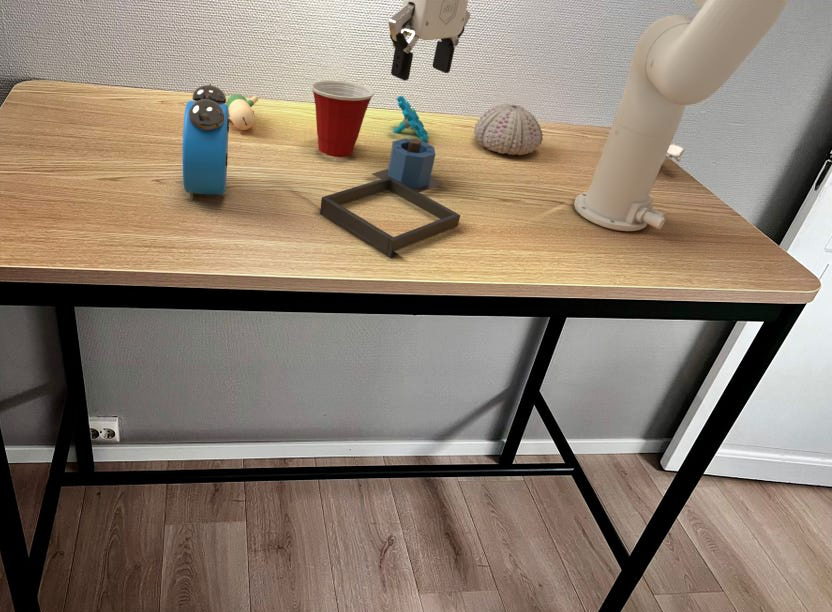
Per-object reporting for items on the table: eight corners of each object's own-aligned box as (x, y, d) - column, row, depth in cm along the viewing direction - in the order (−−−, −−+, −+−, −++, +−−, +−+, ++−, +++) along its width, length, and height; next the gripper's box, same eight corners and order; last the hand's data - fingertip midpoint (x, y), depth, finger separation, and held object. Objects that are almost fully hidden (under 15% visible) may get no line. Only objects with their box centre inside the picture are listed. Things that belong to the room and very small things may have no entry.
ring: (436, 182, 123) (443, 151, 120) (409, 191, 119) (415, 159, 115) (406, 166, 127) (412, 136, 123) (379, 174, 122) (384, 143, 119)
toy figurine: (220, 121, 139) (229, 143, 130) (210, 99, 136) (218, 120, 127) (259, 104, 139) (271, 124, 130) (250, 82, 136) (261, 101, 127)
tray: (456, 231, 112) (460, 215, 110) (390, 258, 103) (393, 240, 101) (387, 192, 120) (389, 176, 118) (319, 213, 111) (321, 196, 109)
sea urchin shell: (459, 144, 141) (468, 103, 136) (488, 128, 150) (498, 89, 145) (521, 167, 136) (533, 125, 131) (547, 148, 145) (560, 109, 140)
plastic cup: (353, 141, 135) (362, 76, 127) (372, 167, 127) (383, 98, 120) (297, 141, 131) (303, 74, 124) (313, 167, 123) (320, 97, 116)
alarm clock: (189, 170, 116) (189, 75, 107) (228, 174, 117) (231, 79, 108) (182, 209, 106) (181, 107, 97) (225, 212, 107) (228, 111, 98)
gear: (431, 144, 134) (401, 98, 131) (405, 162, 136) (374, 117, 133) (432, 131, 144) (404, 88, 140) (408, 148, 146) (379, 106, 143)
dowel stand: (443, 188, 124) (453, 146, 119) (408, 200, 118) (417, 156, 114) (405, 168, 128) (413, 126, 124) (369, 179, 123) (376, 135, 118)
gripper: (424, -43, 95) (400, 89, 105) (502, -45, 105) (473, 75, 116) (383, -57, 98) (364, 72, 109) (462, -57, 109) (438, 60, 119)
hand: (420, 73), depth 112 cm, fingers open, 9 cm apart
